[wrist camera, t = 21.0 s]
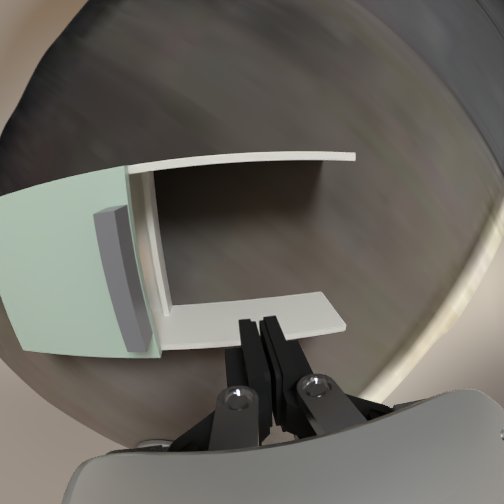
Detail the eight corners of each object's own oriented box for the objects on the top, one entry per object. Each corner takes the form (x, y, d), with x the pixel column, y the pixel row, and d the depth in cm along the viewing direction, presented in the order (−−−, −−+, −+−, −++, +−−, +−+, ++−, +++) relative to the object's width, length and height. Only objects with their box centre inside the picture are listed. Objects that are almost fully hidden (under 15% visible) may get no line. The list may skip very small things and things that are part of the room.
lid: (161, 352, 22) (155, 377, 19) (26, 345, 20) (12, 363, 17) (128, 165, 17) (110, 166, 14) (-16, 202, 16) (-39, 209, 12)
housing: (321, 296, 30) (345, 330, 23) (54, 313, 27) (27, 344, 21) (322, 154, 25) (355, 152, 19) (25, 191, 22) (-14, 202, 16)
